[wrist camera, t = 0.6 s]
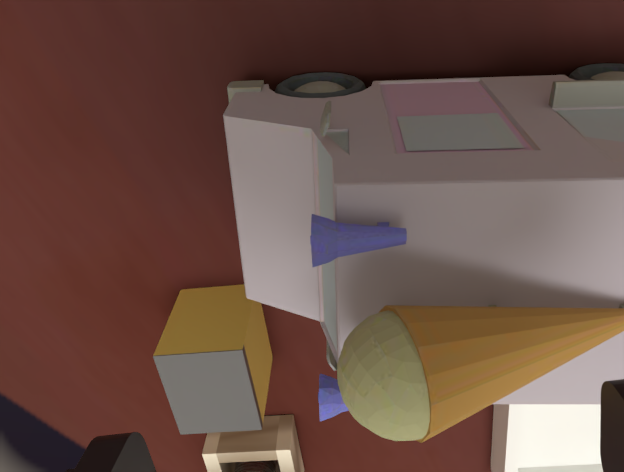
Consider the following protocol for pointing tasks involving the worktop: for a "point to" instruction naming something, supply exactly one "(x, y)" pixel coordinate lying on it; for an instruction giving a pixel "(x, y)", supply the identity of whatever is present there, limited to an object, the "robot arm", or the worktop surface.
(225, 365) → the block
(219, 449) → the holder
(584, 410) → the tray
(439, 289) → the toy vehicle
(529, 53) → the worktop surface
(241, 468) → the pin
